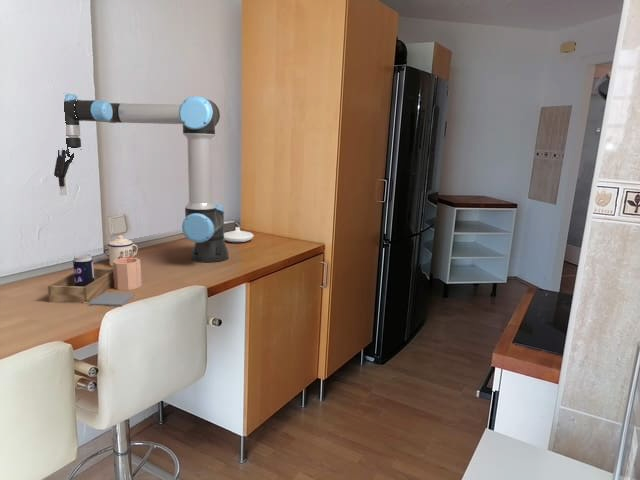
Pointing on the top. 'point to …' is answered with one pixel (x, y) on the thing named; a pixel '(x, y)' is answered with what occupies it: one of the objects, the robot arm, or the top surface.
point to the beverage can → (83, 270)
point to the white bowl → (238, 235)
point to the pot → (127, 273)
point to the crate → (71, 293)
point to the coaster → (112, 299)
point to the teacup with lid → (121, 249)
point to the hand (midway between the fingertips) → (74, 193)
